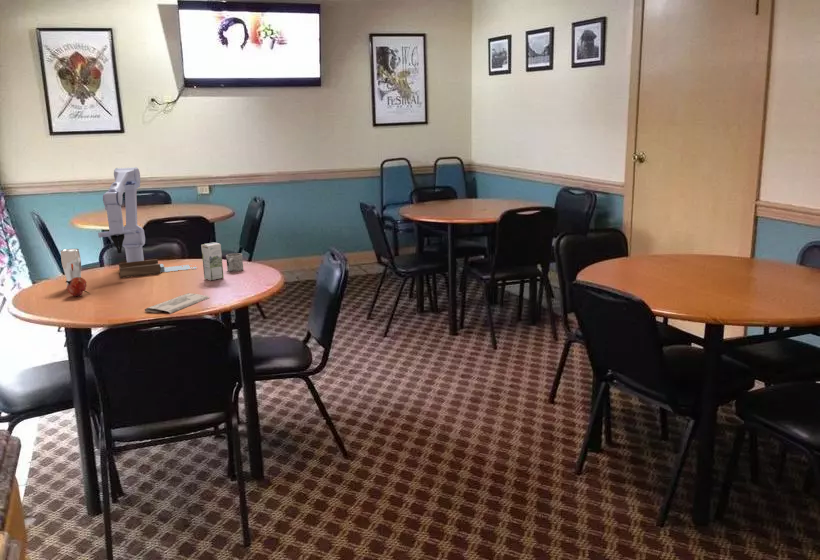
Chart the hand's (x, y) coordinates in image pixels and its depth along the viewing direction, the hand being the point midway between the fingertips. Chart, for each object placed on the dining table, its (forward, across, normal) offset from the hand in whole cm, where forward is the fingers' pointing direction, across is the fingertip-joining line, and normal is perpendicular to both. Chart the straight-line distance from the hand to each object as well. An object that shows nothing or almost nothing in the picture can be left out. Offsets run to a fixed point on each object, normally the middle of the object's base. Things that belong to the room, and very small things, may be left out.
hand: (119, 252), depth 299 cm
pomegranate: (+10, -16, -30) cm, 35 cm away
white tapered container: (+10, -18, -13) cm, 24 cm away
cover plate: (+10, +23, +2) cm, 25 cm away
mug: (+10, +44, -17) cm, 48 cm away
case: (+10, +7, +2) cm, 12 cm away
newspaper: (+11, +16, -65) cm, 68 cm away
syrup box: (+10, +34, -29) cm, 46 cm away
